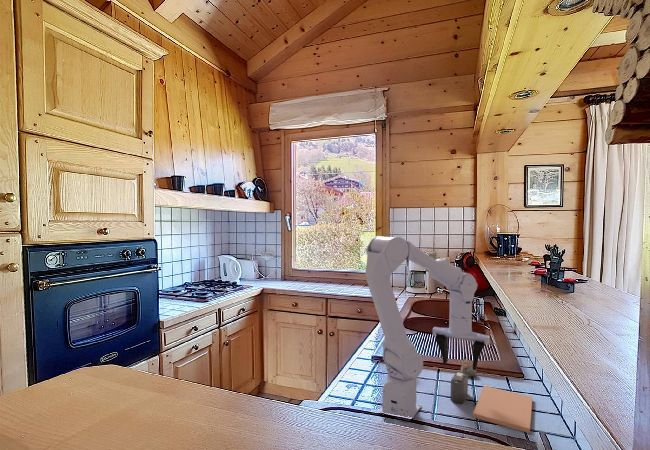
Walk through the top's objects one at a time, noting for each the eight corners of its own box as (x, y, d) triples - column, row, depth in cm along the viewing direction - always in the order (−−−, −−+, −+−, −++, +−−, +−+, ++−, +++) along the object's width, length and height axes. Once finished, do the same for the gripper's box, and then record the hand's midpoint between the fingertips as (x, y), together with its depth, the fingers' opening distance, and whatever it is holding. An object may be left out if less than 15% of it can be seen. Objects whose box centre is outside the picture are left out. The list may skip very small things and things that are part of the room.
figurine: (480, 376, 110) (477, 356, 110) (470, 379, 108) (467, 359, 108) (466, 372, 114) (463, 353, 115) (456, 375, 112) (454, 356, 113)
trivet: (529, 433, 80) (529, 428, 80) (473, 417, 86) (473, 413, 86) (532, 400, 95) (532, 396, 95) (483, 389, 101) (484, 385, 101)
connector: (462, 405, 92) (463, 381, 92) (449, 401, 94) (449, 378, 94) (468, 392, 99) (469, 370, 99) (456, 389, 101) (456, 367, 101)
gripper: (491, 316, 96) (490, 366, 96) (437, 309, 104) (436, 355, 104) (487, 322, 90) (487, 375, 90) (430, 314, 98) (430, 363, 98)
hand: (459, 365), depth 96 cm, fingers open, 7 cm apart
